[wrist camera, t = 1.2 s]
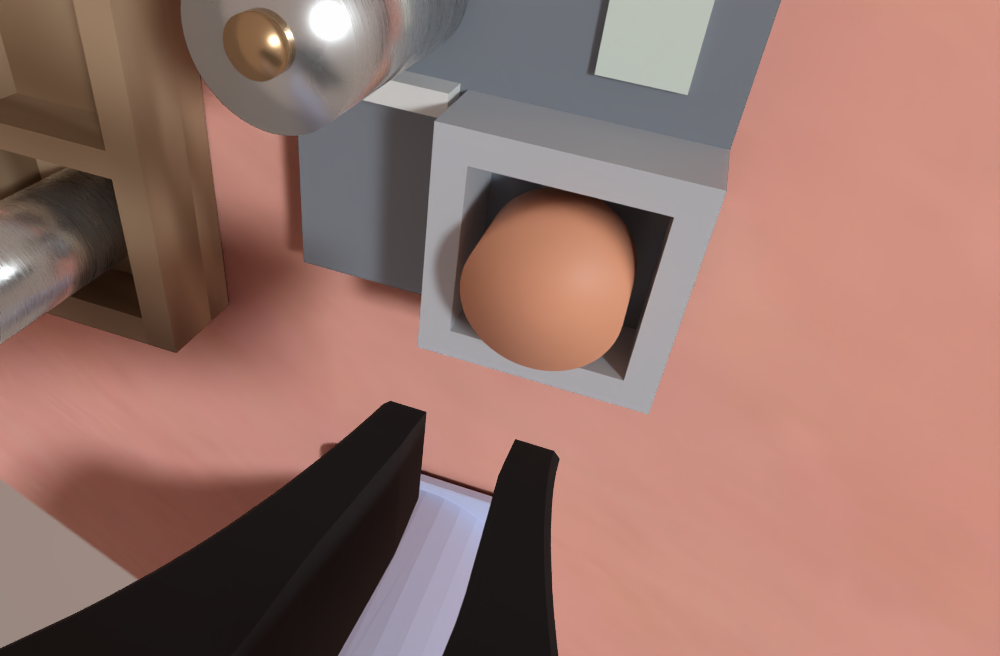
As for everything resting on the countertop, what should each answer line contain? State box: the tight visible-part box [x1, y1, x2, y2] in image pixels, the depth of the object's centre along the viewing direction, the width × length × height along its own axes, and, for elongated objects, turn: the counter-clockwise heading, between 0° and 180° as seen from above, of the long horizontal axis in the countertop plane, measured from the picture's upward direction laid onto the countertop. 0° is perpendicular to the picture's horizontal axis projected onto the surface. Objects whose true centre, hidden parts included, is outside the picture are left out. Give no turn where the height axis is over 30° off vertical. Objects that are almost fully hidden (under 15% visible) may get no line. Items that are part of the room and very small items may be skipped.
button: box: [460, 187, 637, 371], centre depth 16 cm, size 4×4×2 cm
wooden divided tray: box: [0, 0, 229, 353], centre depth 20 cm, size 12×6×3 cm, turn 172°
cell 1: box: [0, 167, 129, 344], centre depth 20 cm, size 3×3×6 cm
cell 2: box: [181, 0, 468, 136], centre depth 13 cm, size 3×3×6 cm
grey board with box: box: [298, 0, 781, 414], centre depth 16 cm, size 11×10×3 cm
